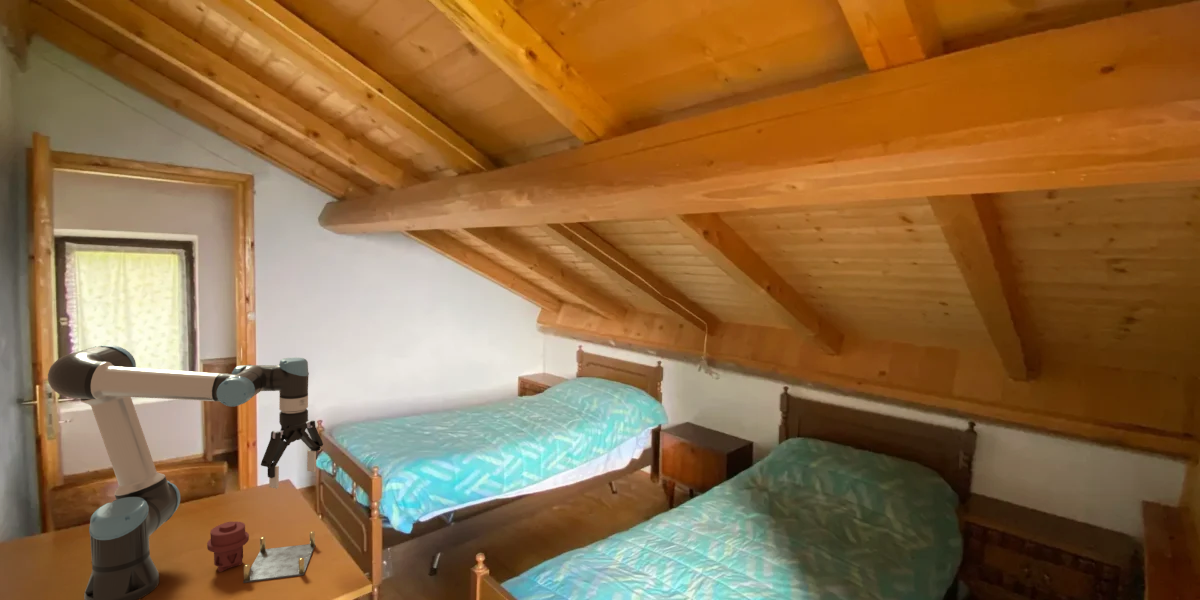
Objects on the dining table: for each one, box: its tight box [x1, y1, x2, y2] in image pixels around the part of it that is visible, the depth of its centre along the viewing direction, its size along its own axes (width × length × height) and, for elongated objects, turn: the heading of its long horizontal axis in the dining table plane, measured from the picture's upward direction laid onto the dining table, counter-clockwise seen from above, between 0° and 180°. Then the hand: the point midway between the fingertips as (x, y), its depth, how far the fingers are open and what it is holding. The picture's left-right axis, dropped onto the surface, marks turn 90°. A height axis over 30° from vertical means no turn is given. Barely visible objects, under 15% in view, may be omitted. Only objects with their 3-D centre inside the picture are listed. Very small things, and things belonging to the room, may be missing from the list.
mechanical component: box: [206, 521, 250, 573], centre depth 163 cm, size 12×10×10 cm
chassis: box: [243, 530, 316, 584], centre depth 165 cm, size 15×17×4 cm
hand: (293, 479), depth 170 cm, fingers open, 13 cm apart
